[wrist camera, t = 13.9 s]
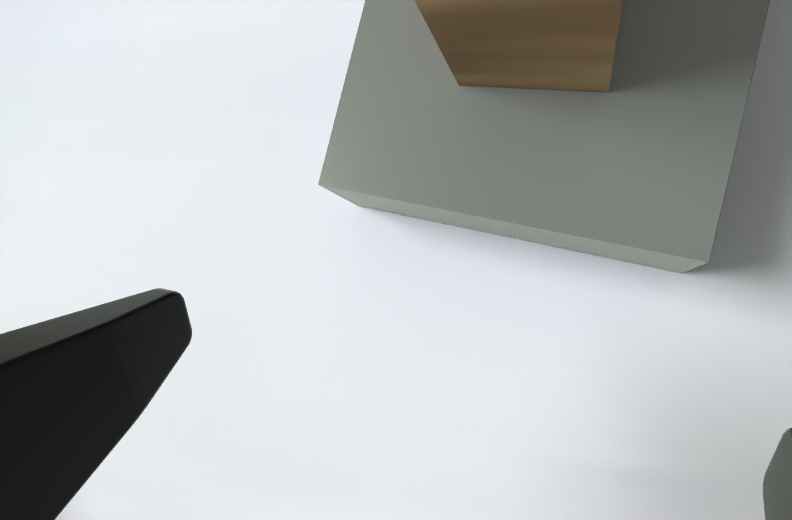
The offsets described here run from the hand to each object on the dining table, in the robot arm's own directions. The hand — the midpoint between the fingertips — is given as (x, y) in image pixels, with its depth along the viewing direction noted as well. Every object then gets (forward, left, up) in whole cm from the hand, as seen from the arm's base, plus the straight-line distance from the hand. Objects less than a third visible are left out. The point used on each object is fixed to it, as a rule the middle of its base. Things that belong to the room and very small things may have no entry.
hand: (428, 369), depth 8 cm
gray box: (+10, +1, -12) cm, 16 cm away
